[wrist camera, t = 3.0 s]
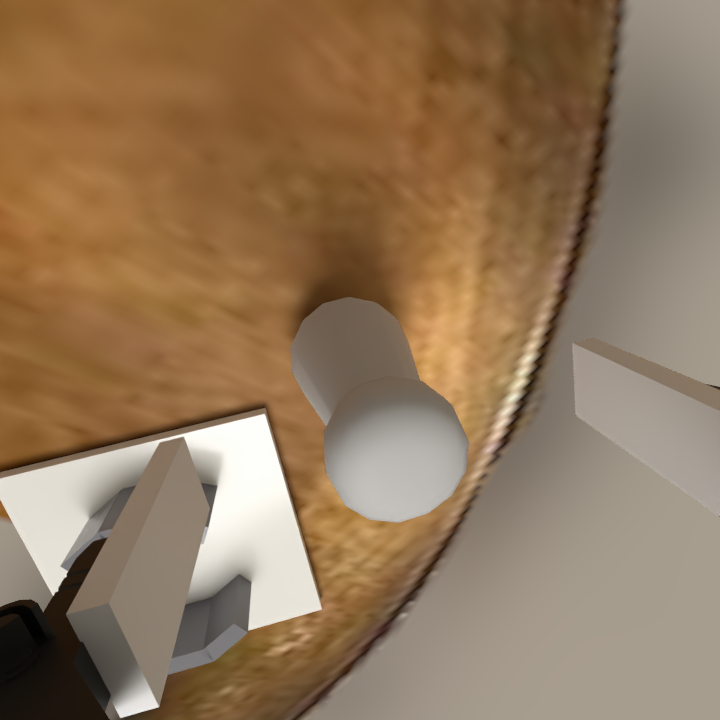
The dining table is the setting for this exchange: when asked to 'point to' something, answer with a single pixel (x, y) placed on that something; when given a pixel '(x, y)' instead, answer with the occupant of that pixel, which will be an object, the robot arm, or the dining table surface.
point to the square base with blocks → (220, 538)
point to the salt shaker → (377, 412)
